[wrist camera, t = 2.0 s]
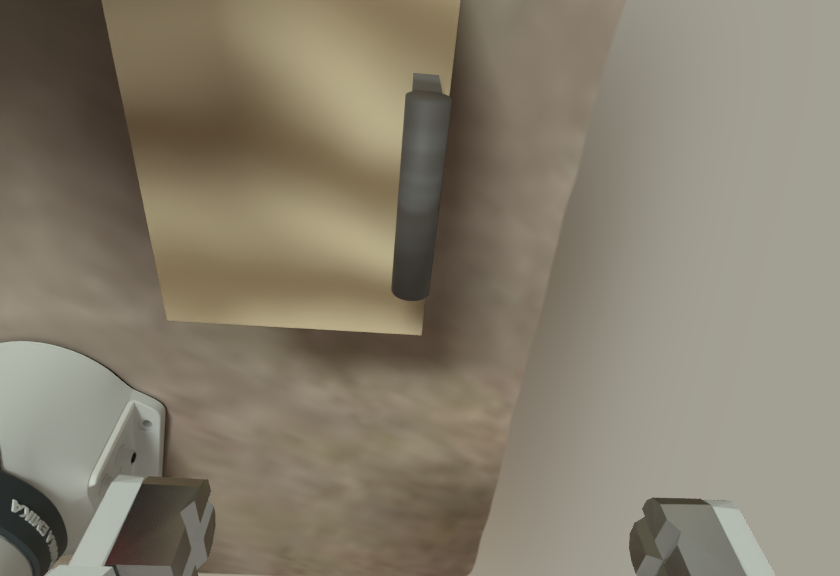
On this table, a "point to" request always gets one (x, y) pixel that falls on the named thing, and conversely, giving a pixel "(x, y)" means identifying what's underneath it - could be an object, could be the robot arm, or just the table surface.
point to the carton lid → (289, 154)
